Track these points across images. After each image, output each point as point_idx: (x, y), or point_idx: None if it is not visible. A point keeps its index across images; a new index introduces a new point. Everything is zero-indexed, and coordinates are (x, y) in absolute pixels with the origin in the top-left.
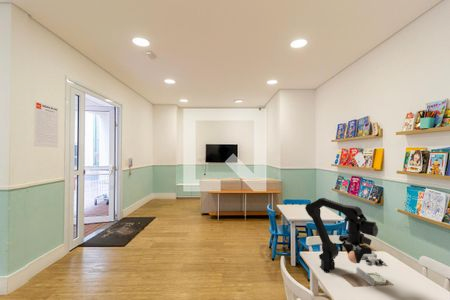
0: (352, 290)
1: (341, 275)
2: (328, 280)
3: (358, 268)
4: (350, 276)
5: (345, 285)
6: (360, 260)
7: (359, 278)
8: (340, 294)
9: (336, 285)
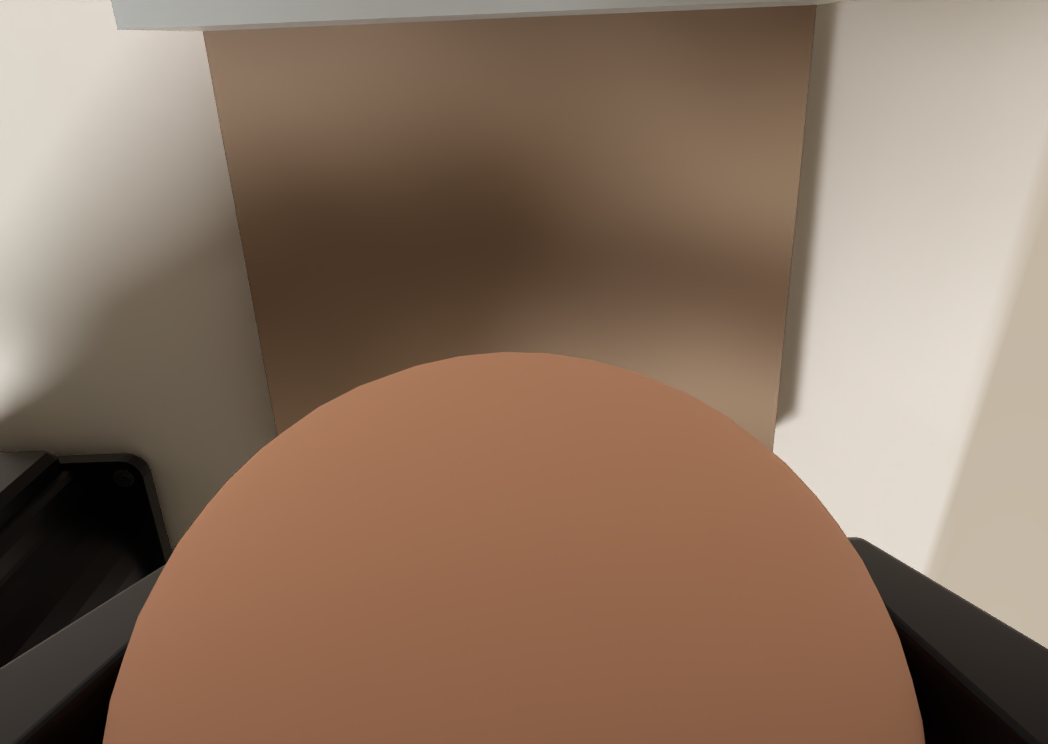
0: (803, 481)
1: None
2: None
3: (216, 20)
4: (377, 291)
5: None
6: (1004, 636)
7: (465, 119)
8: None
9: None
